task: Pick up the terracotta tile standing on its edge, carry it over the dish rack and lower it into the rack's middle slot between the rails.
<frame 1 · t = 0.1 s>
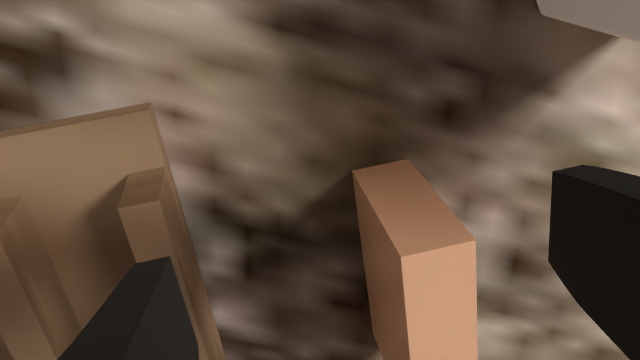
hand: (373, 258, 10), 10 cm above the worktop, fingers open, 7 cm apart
tile: (388, 251, 22), on the worktop
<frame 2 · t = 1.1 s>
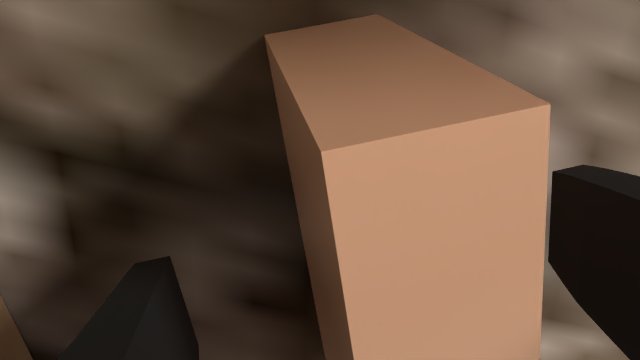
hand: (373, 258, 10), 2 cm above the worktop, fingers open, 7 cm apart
tile: (346, 206, 12), on the worktop
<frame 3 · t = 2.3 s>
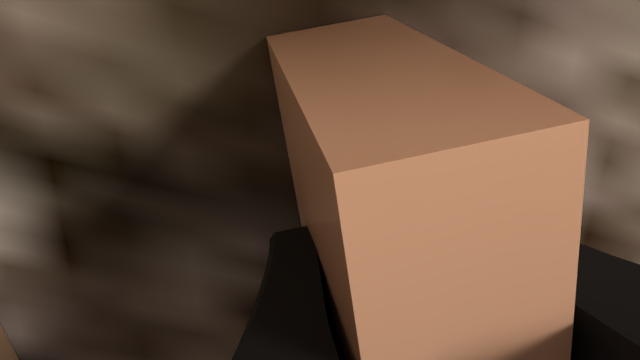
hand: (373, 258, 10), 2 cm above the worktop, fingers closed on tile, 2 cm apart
tile: (352, 216, 12), on the worktop, touching gripper
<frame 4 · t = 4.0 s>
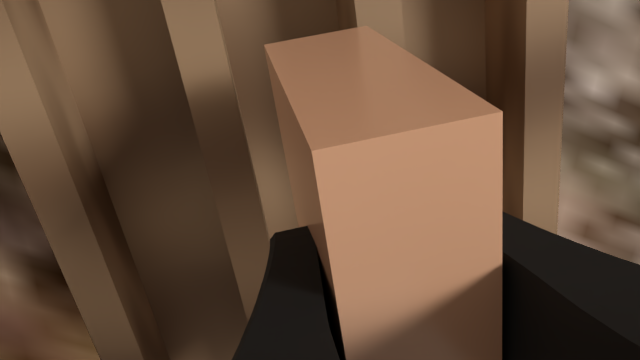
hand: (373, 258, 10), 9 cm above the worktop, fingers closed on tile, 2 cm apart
tile: (340, 202, 13), point 6 cm above the worktop, touching gripper
rack: (295, 115, 18), on the worktop
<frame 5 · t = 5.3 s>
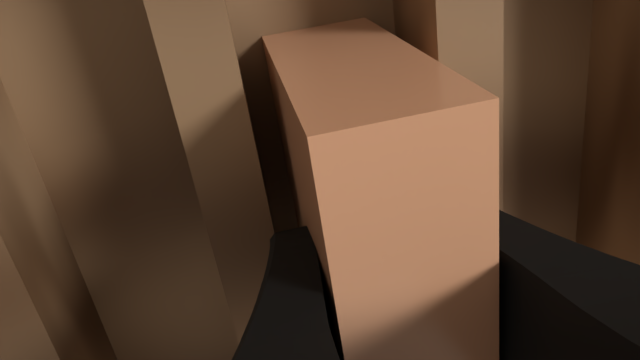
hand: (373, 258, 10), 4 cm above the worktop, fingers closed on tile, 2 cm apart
tile: (338, 194, 13), point 1 cm above the worktop, touching gripper, rack
rack: (331, 171, 14), on the worktop
when the fingers open (4 cm above the worktop, at t = 5.6 s): tile stays where it is, resting on rack.
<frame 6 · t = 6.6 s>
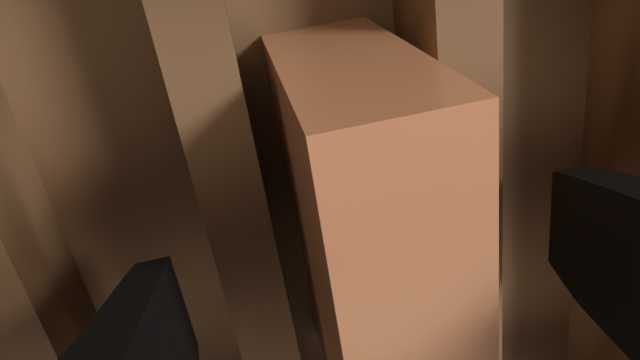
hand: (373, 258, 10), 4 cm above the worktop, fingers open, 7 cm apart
tile: (338, 194, 13), point 1 cm above the worktop, touching rack
rack: (331, 171, 14), on the worktop
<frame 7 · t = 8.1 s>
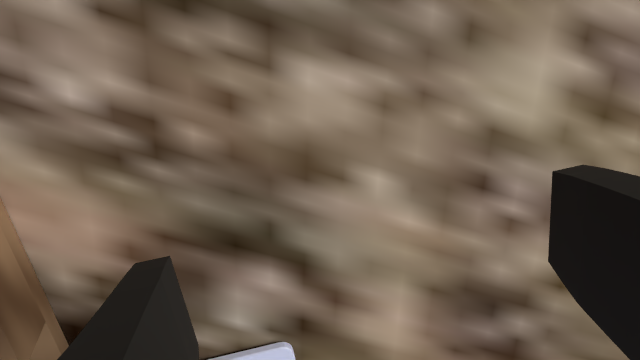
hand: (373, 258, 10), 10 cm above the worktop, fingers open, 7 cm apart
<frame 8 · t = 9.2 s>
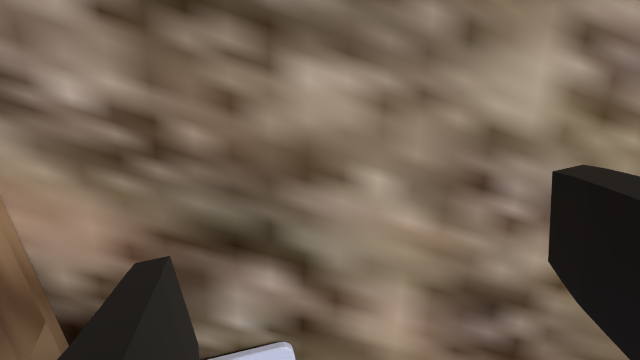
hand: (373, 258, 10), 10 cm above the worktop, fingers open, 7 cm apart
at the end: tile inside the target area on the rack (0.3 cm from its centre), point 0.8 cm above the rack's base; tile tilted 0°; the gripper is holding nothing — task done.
